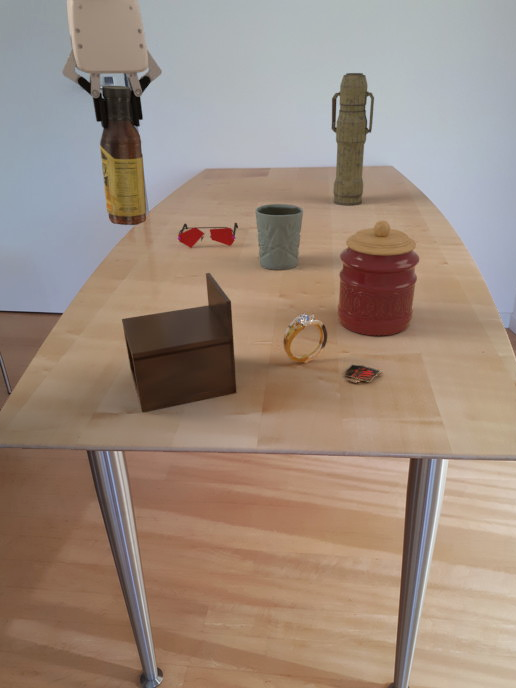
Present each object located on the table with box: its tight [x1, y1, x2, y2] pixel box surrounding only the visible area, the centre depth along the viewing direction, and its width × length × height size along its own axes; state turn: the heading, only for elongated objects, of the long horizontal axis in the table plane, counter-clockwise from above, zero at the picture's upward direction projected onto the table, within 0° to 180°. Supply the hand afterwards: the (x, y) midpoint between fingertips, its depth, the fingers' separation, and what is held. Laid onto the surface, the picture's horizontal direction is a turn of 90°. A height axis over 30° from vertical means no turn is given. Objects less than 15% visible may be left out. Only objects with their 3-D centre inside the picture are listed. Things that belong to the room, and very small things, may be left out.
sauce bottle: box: [99, 85, 147, 226], centre depth 85 cm, size 6×6×20 cm
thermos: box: [331, 72, 375, 206], centre depth 160 cm, size 9×12×35 cm
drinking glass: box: [255, 203, 304, 271], centre depth 119 cm, size 10×10×12 cm
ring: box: [282, 312, 328, 364], centre depth 82 cm, size 7×3×8 cm, turn 111°
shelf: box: [121, 272, 237, 413], centre depth 76 cm, size 13×11×14 cm
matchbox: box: [344, 364, 383, 384], centre depth 80 cm, size 5×5×1 cm
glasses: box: [177, 222, 239, 249], centre depth 137 cm, size 14×16×5 cm
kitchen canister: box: [337, 220, 420, 337], centre depth 92 cm, size 13×13×18 cm
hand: (120, 124), depth 83 cm, fingers closed on sauce bottle, 4 cm apart
